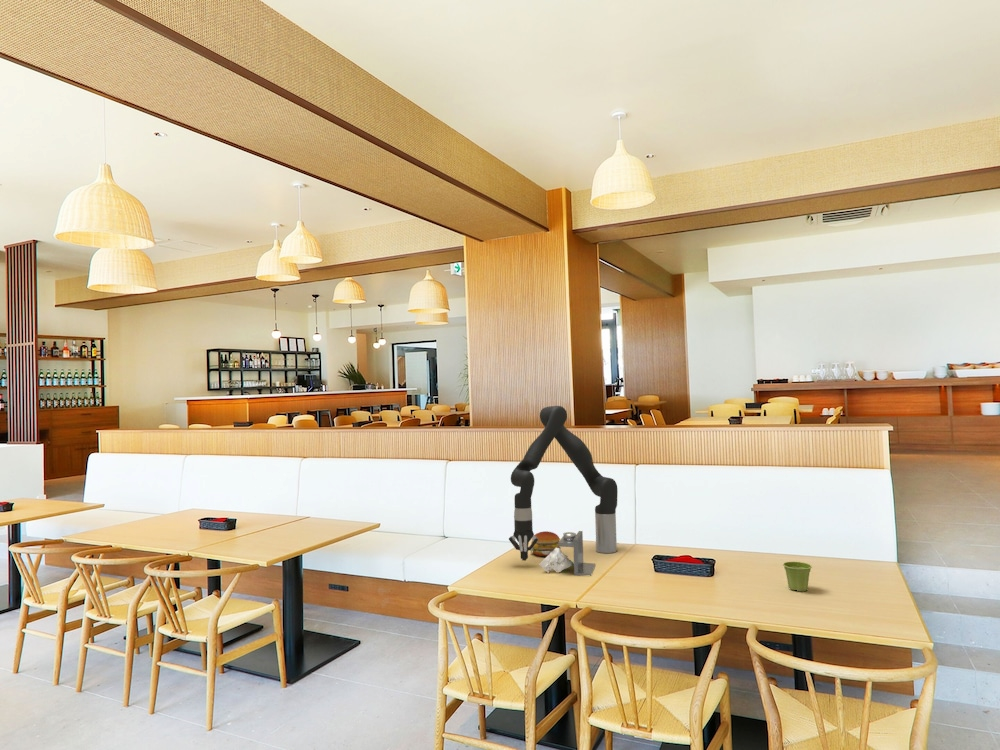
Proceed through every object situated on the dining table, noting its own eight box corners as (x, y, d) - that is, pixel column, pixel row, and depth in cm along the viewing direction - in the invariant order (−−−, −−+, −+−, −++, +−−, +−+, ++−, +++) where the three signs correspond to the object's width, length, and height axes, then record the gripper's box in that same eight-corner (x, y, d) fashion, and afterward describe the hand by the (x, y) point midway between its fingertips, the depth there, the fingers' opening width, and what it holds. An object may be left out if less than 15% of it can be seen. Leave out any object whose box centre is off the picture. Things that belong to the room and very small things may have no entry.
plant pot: (816, 593, 224) (815, 568, 225) (787, 593, 226) (786, 568, 226) (808, 586, 233) (807, 561, 234) (780, 585, 235) (780, 561, 235)
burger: (561, 558, 281) (560, 535, 282) (530, 558, 282) (529, 535, 282) (560, 550, 295) (559, 528, 295) (530, 550, 295) (530, 528, 296)
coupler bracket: (565, 563, 271) (564, 529, 271) (595, 565, 268) (594, 530, 268) (559, 574, 256) (558, 537, 256) (590, 576, 252) (589, 538, 253)
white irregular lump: (570, 567, 254) (553, 549, 257) (556, 582, 256) (538, 564, 258) (577, 560, 265) (561, 543, 268) (563, 575, 267) (547, 557, 270)
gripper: (540, 516, 271) (541, 558, 270) (510, 516, 274) (510, 557, 274) (537, 520, 264) (538, 563, 263) (505, 519, 267) (506, 561, 266)
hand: (524, 560), depth 268 cm, fingers closed
